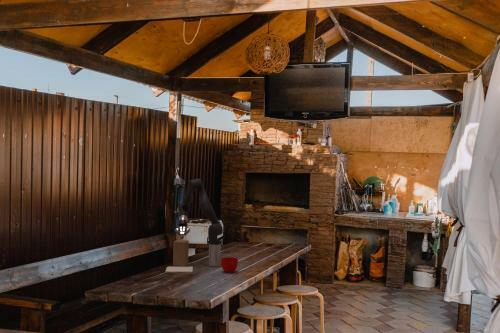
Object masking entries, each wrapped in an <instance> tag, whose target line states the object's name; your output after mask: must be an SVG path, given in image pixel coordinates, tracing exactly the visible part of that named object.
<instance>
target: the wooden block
mask: <svg viewBox="0 0 500 333" xmlns="http://www.w3.org/2000/svg"><path fill="white" fill-rule="evenodd" d="M189 244H190V242H189V240H188V239H187V240H186V239H176V240H174V241H173V244H172V245H173V249H172V253H173V254H172V260H173V261H172V267H188V265H189V250H190V249H189V248H190V247H189V246H190V245H189Z"/></svg>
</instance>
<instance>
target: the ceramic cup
mask: <svg viewBox="0 0 500 333" xmlns="http://www.w3.org/2000/svg"><path fill="white" fill-rule="evenodd" d="M238 264H239V258H238V257H232V256H231V257H227V256H226V257H222V258H221V257H220V266H221V268H222V270H223V272H225V273H228V274H229V273H230V274H232V273H234V272H235V271H236V270H237V267H238Z"/></svg>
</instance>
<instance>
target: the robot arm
mask: <svg viewBox="0 0 500 333" xmlns="http://www.w3.org/2000/svg"><path fill="white" fill-rule="evenodd" d="M204 186H205V185H204V183H203V181H202V179H200V178H194V179H191V180H189V181H188V183H187V188H186V192H185V195H184V198H183V199H182V202H179V203H178V205H177V210H178V215H179V218H178V225H177V228H175V229H174V230H175V233H177V235H178V236H180V240H184V237H185V236H186V235H188V234H189V233H190V232H191V228H189V226H188V221H189V219H188V218H189V216H188V213H189V212H190V210H191V204H192V201H193V199H194V196H193V192H194V191H195V192H196V191H198V192H199V195H200V196H199V197H200V198H199V208H200V210H201V213H202V215H204V217H206V219H208V220H209V222H210V225H209V226H208V228H207V239H208V266H209V267H220V266H221V250H222V249H221V246H222V245H221V240H220V239H218V236H221V235H222V234H223V233H224V228H223V225H222V223H221V222H220V220H219V218H218V217H217V215H216V212H215V210H214V208H213V206H212V203H211V201H210V198H209V197H208V194H207V192H206V189H205V187H204Z"/></svg>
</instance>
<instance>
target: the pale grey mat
mask: <svg viewBox="0 0 500 333" xmlns="http://www.w3.org/2000/svg"><path fill="white" fill-rule="evenodd" d="M193 271H194V266H185V267H177V266H167V267H166V269H165V273H193Z"/></svg>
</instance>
